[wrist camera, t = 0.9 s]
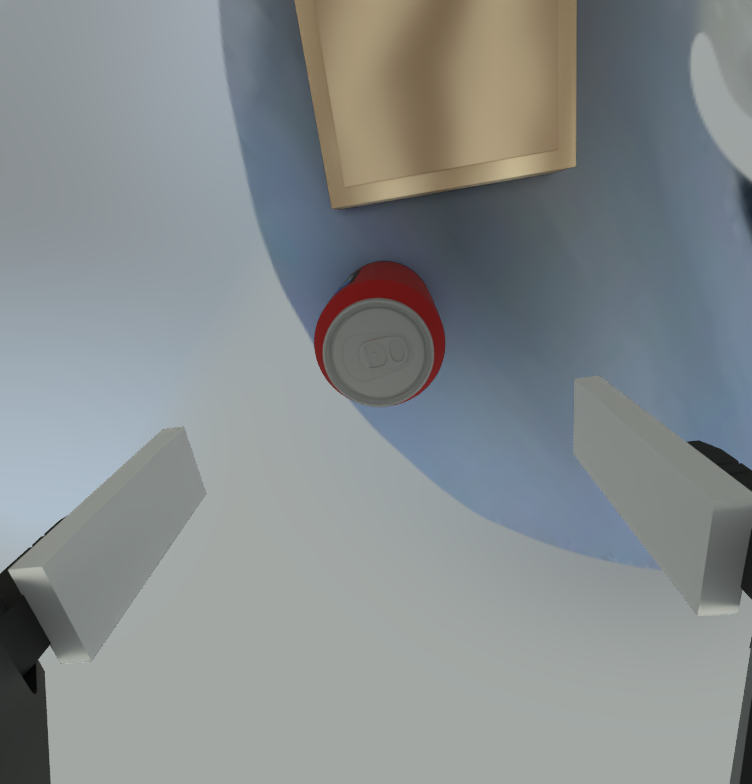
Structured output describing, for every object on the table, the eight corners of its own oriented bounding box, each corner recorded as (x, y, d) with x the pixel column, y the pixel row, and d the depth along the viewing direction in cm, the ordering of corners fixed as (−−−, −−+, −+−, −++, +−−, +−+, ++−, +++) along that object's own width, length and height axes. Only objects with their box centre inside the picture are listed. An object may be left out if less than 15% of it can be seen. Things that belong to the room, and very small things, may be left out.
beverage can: (327, 271, 31) (289, 301, 20) (421, 249, 31) (435, 268, 20) (351, 360, 34) (328, 431, 23) (438, 342, 33) (459, 406, 22)
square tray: (548, -117, 24) (579, -184, 20) (552, 172, 29) (577, 166, 25) (293, -57, 25) (274, -108, 21) (339, 209, 30) (331, 208, 26)
